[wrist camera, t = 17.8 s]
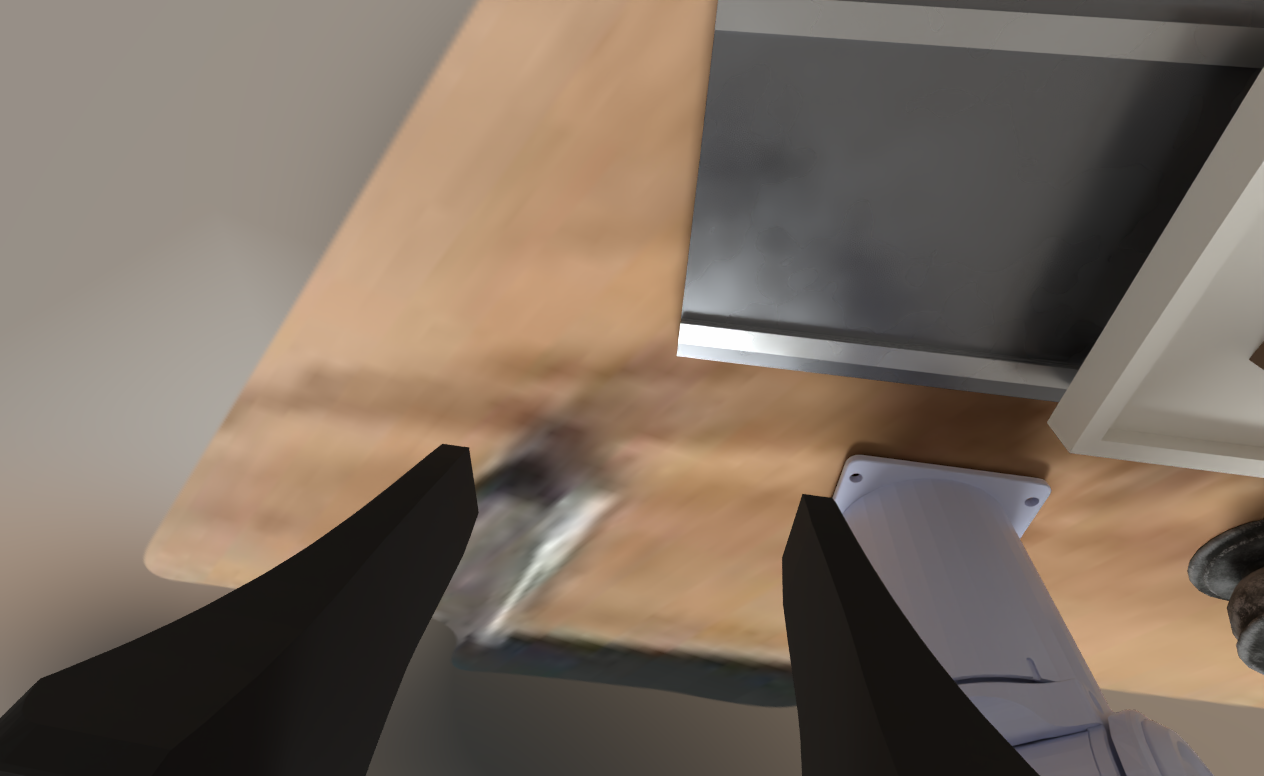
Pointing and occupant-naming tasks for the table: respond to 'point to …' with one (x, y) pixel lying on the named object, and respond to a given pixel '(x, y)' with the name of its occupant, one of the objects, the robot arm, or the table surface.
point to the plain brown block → (1258, 356)
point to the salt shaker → (1237, 585)
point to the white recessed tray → (1187, 329)
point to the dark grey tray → (947, 179)
